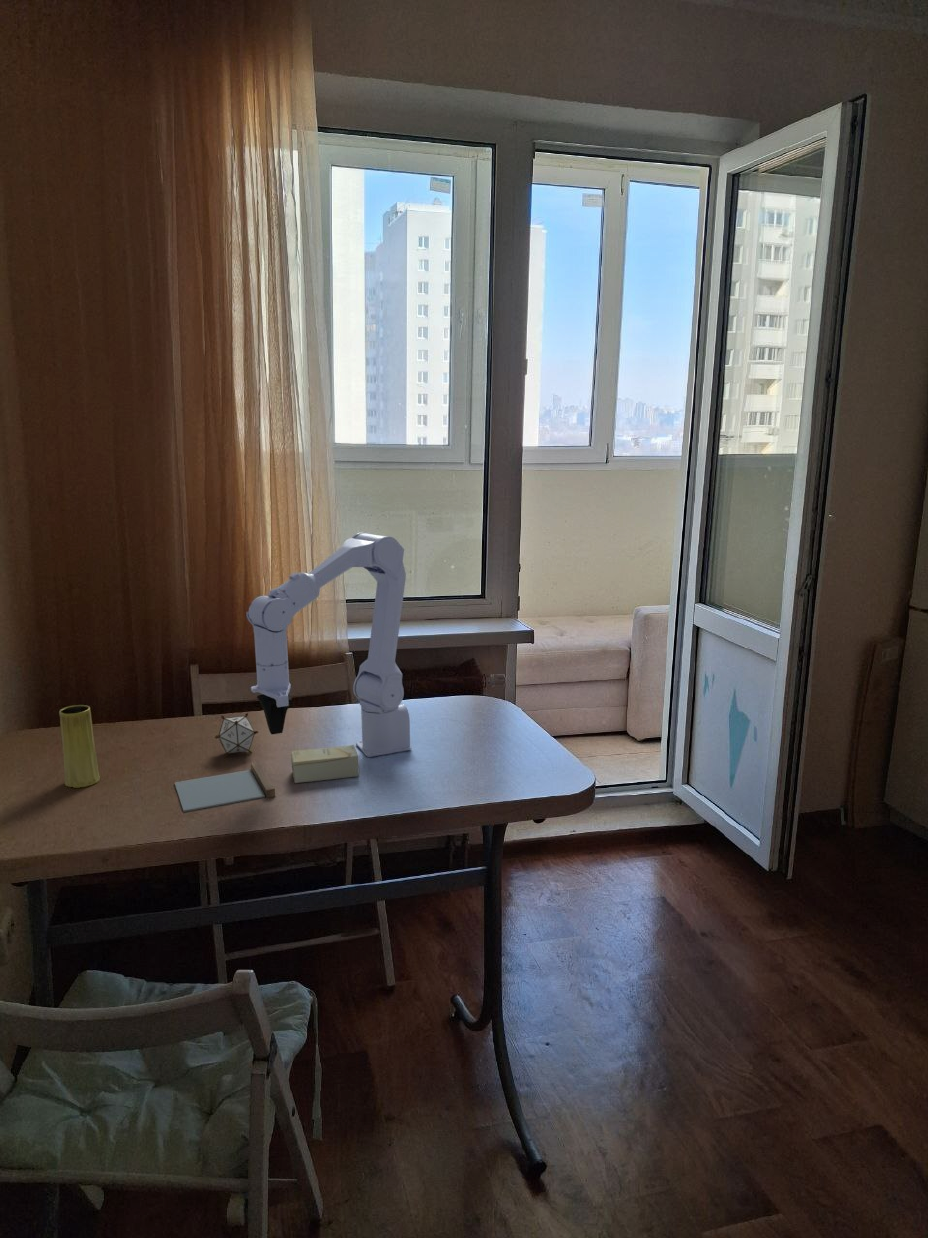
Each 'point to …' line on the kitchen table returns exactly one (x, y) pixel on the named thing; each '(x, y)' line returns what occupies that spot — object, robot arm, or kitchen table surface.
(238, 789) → the felt mat
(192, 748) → the kitchen table surface
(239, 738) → the game die
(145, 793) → the kitchen table surface
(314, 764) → the skincare box
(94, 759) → the vase
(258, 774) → the walnut rail
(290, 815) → the kitchen table surface
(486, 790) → the kitchen table surface
